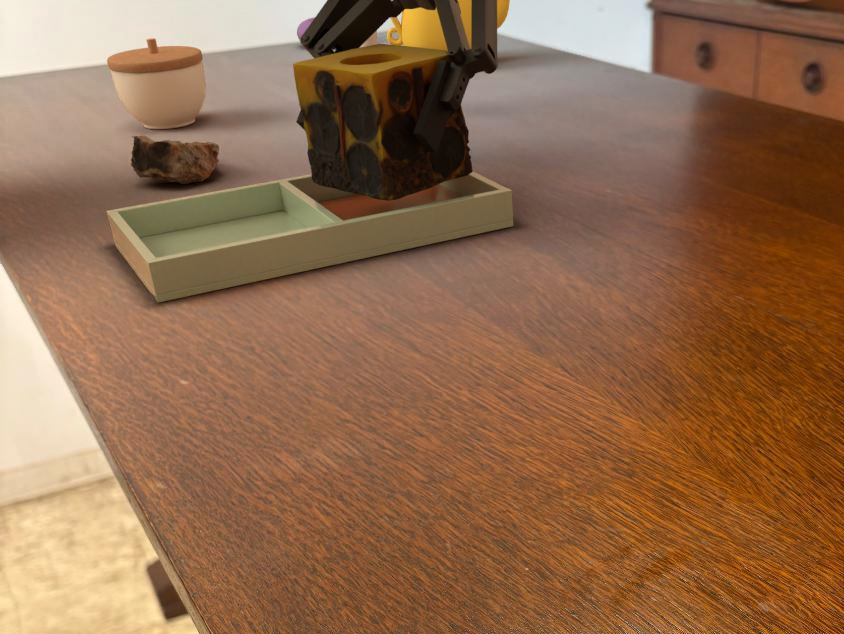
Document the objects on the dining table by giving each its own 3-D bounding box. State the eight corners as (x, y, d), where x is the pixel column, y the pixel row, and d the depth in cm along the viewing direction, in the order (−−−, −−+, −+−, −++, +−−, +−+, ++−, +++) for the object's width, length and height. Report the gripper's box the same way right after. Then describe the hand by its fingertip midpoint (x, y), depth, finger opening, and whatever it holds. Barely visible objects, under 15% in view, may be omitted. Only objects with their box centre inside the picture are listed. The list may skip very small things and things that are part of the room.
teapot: (387, 60, 160) (377, -38, 153) (521, 50, 163) (516, -46, 155) (393, 78, 149) (382, -26, 142) (536, 67, 151) (532, -36, 144)
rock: (201, 191, 106) (244, 145, 113) (168, 134, 103) (215, 90, 109) (133, 209, 110) (179, 163, 116) (99, 154, 106) (149, 110, 113)
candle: (475, 175, 94) (465, 51, 89) (389, 205, 88) (373, 73, 82) (395, 158, 100) (381, 41, 94) (309, 185, 94) (289, 61, 88)
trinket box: (191, 108, 137) (175, 27, 132) (230, 122, 130) (213, 37, 125) (109, 124, 132) (88, 40, 127) (144, 139, 125) (124, 51, 120)
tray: (115, 246, 93) (106, 210, 91) (437, 184, 105) (434, 151, 103) (157, 302, 81) (147, 262, 80) (513, 226, 93) (511, 190, 92)
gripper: (587, -63, 91) (506, 174, 88) (360, -64, 100) (280, 149, 98) (556, -134, 84) (466, 121, 81) (315, -128, 94) (228, 100, 91)
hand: (365, 137), depth 90 cm, fingers closed on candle, 11 cm apart
